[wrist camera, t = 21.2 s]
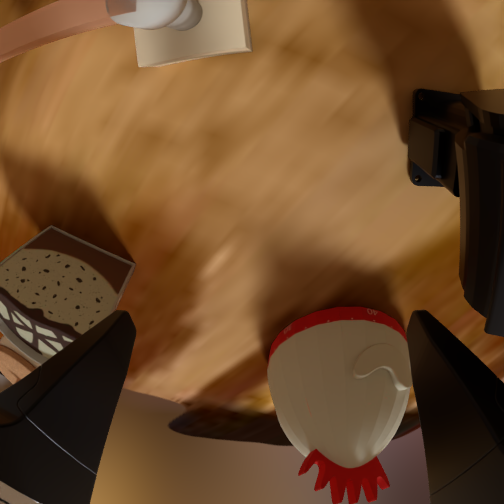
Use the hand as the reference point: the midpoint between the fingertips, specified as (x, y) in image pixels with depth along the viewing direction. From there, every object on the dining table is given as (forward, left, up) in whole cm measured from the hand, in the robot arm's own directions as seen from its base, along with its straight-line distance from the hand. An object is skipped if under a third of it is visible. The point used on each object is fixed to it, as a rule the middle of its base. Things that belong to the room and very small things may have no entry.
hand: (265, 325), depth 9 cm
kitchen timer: (-5, +18, -13) cm, 23 cm away
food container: (+18, +7, -13) cm, 23 cm away
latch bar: (+10, -12, -6) cm, 17 cm away
